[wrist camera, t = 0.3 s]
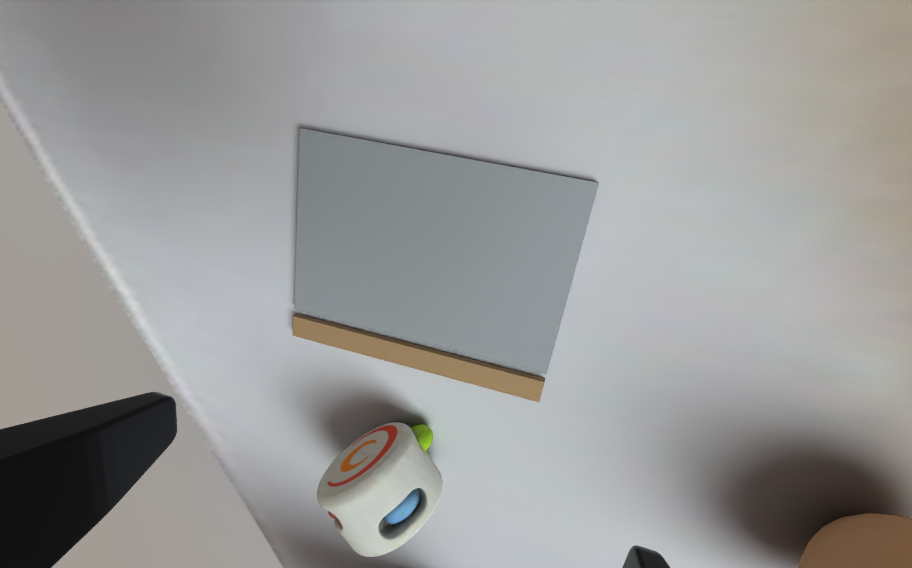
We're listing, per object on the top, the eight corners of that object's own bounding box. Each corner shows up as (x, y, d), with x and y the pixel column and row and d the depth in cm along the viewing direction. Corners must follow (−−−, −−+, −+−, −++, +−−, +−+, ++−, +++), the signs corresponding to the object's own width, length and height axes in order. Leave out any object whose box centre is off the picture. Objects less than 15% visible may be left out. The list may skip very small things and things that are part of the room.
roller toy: (464, 464, 24) (437, 554, 19) (380, 493, 26) (335, 581, 21) (424, 403, 24) (385, 478, 18) (341, 438, 26) (285, 514, 20)
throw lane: (539, 397, 22) (539, 402, 21) (296, 332, 24) (292, 335, 24) (598, 182, 18) (599, 183, 18) (303, 128, 20) (298, 127, 20)
